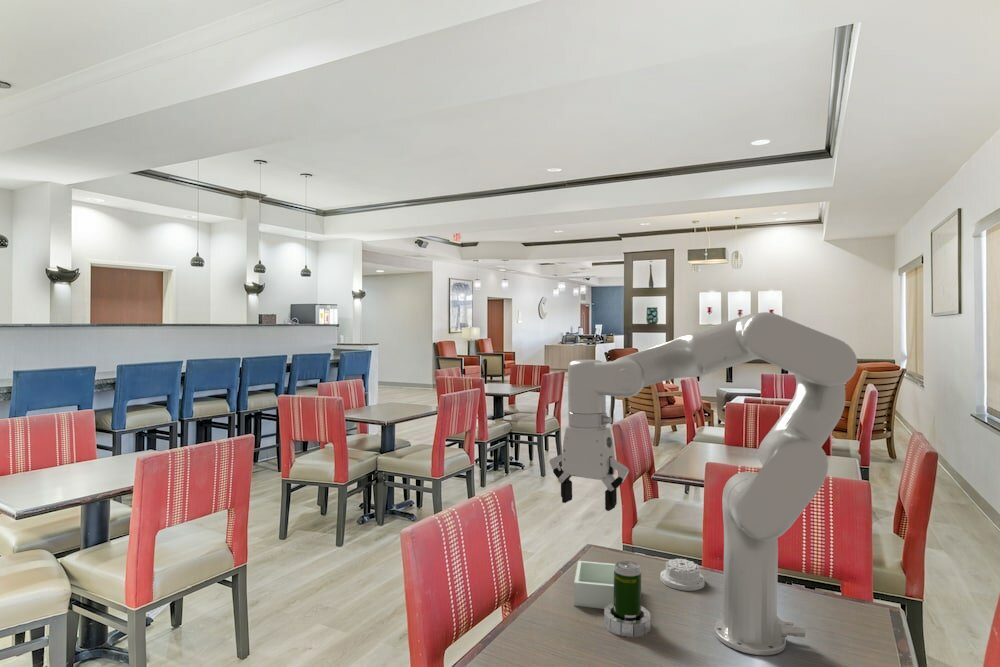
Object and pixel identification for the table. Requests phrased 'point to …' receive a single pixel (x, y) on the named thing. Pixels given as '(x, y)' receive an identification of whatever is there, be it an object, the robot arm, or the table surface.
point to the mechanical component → (682, 575)
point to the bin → (594, 584)
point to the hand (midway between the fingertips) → (588, 505)
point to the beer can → (627, 591)
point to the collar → (627, 623)
